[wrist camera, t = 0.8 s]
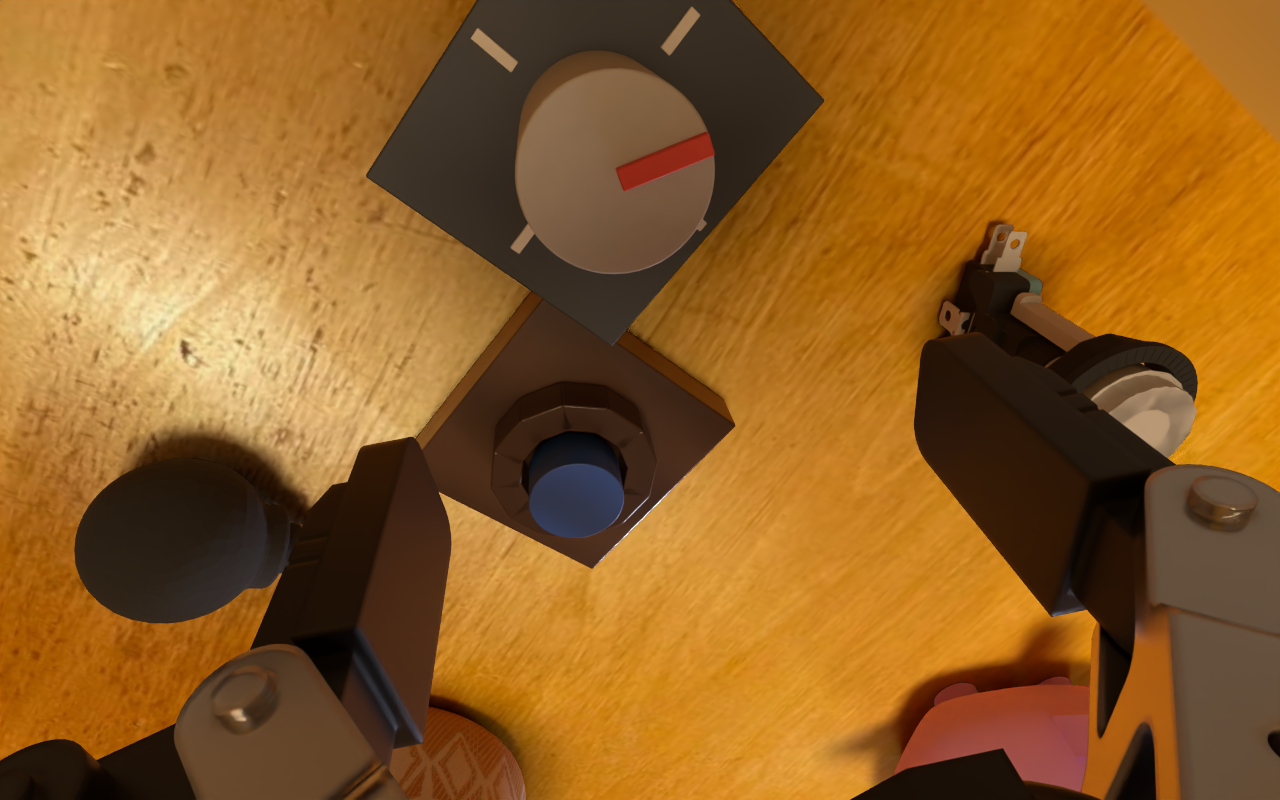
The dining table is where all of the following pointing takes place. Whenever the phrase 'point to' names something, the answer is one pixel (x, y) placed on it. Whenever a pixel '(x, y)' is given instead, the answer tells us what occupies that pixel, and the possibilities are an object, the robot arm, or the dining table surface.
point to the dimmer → (611, 163)
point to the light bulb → (180, 541)
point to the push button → (1075, 347)
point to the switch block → (568, 422)
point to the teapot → (1009, 729)
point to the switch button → (575, 486)
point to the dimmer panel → (490, 116)
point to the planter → (457, 763)
